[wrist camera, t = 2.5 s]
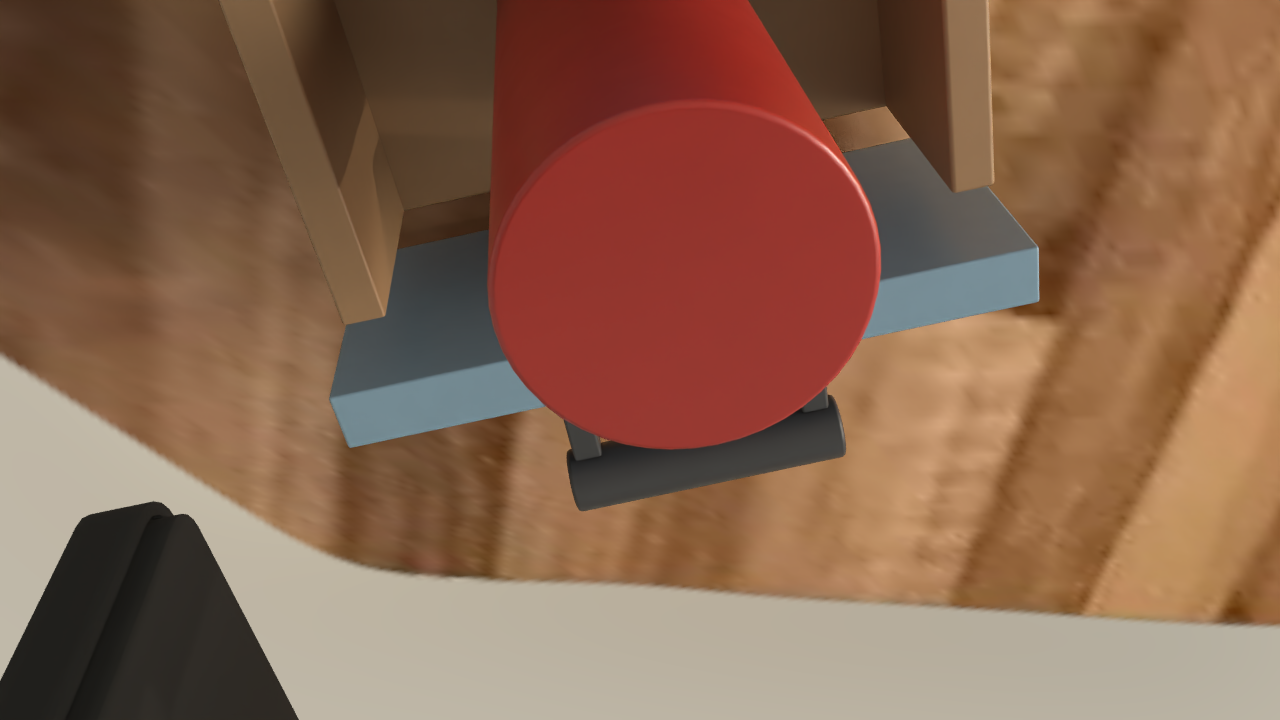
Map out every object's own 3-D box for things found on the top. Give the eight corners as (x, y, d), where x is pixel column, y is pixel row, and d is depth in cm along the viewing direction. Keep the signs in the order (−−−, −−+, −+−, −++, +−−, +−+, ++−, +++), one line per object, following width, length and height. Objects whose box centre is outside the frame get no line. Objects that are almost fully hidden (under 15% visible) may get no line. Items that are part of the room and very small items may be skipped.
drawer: (953, 331, 29) (1041, 474, 25) (428, 442, 30) (412, 605, 25) (896, -701, 19) (1030, -812, 14) (82, -512, 19) (-63, -555, 14)
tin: (527, 125, 24) (540, 485, 14) (470, -95, 22) (438, 153, 12) (736, 79, 24) (897, 409, 14) (702, -146, 22) (865, 59, 12)
